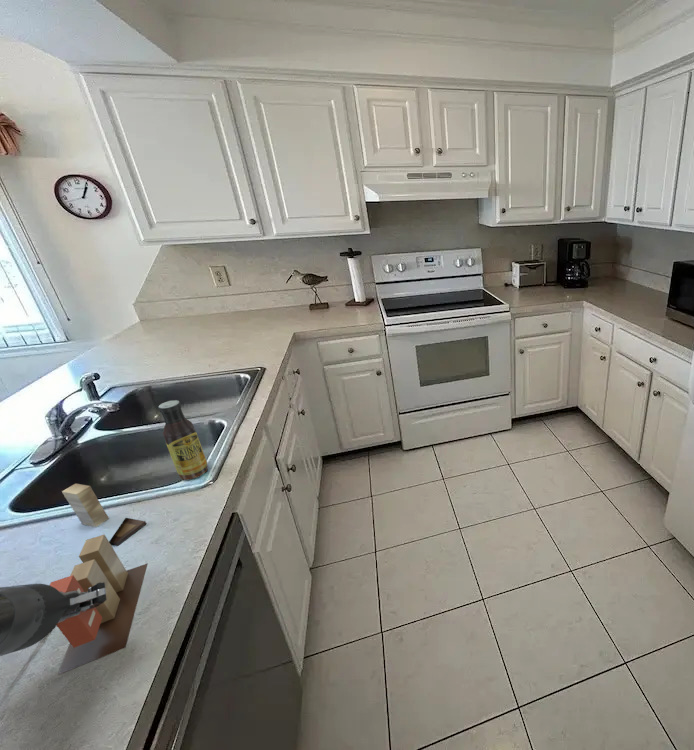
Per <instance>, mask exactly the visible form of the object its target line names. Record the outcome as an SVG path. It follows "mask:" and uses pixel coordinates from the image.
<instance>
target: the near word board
mask: <svg viewBox="0 0 694 750" xmlns="http://www.w3.org/2000/svg"><path fill="white" fill-rule="evenodd" d="M109 541H110V540H109V539H108V538H107V536H106V535H105V534H101V535H98V536H95V537H91V538H89V539H86V540H85V542H84V544H83V546H82V548H81V551H80V553H79V555H78V558H79V560H80V561H81V563H79V564H78V563H77V564H75V565H73V568H72V571H71V572H70V575H69V576H72V575H73V576H74V577H75V578H76V580H77V581H78V583H79V584H80V586H81V587H82V589H83V590H84V592H88V588H90V587H93V586H94V585H97V583H100V582H101V583H103V582H105V589H106V599H107V600H106V601H105V602H104V603H102V604H100V606H97V607H95V608H96V609H97V611H98V612H99V614H100V615H101V617H102V620H101V623H100V626H99V629H98V632H97V635H96V638H95V640H93V641H90V642H88V643H85V644H82V645H80V646H77V647H75V648H73V646H72V645H71V644H70V643H69V644H68V646H67V647H68V648H67V649H66V652H65V655H64V657H63V660H62V662H61V665H60V667H59V670H58V673H57V676H60V675H62V674H64V673H67V672H69V671H72V670H74V669H76V668H79V667H82V666H84V665H86V664H89V663H91V662H94V661H96V660H100V659H102V658H104V657H106V656H109V655H111V654H114V653H116V652H118V651H121V650H123V649H126V648H127V644H128V641H129V636H130V632H131V629H132V625H133V621H134V617H135V613H136V610H137V606H138V602H139V599H140V594H141V591H142V586H143V582H144V580H145V576H146V571H147V568H148V563H145V564H142V565H138V566H135V567H133V568H130V569H126V567H125V566H124V564H123V563H122V560H121V559H120V557H119V556H118V554H117V552H116V551H115V549H114V548H113V545H112V544H110V543H109Z"/></svg>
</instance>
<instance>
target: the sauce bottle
mask: <svg viewBox="0 0 694 750" xmlns="http://www.w3.org/2000/svg"><path fill="white" fill-rule="evenodd" d="M158 411H159V413H160V414H161V415H162V418H163V422H164V427H163V431H162V435H163V437H164V440H165V445H166V447H167V449H168V452H169V455H170V457H171V460H172V463H173V465H174V468H175V469H176V473H177V474H178V476H179V478H180V479H181V480H182V481H183V480H184V481H189V480H194V479H198V478H200V477H202V476H203V475H204V474H205V473H207V472H208V470H207V469H209V467H208V460H207V458H206V455H205V453H204V450H203V447H202V443H201V442H200V439H199V435H198V433H197V431H196V428H195V426H194V424H193V422H192V421H191V420H189V419H187V418H185V417H186V416H185V415H184V413H183V409H182V404H181V402H180V400H177V399H175V400H167V401H165V402H162V403H160V404H159V405H158Z"/></svg>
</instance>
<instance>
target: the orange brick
mask: <svg viewBox="0 0 694 750" xmlns="http://www.w3.org/2000/svg"><path fill="white" fill-rule="evenodd" d="M49 585H50V586H52V587H54V588H55V589H57V590H58V591H59V592H60V591H62V592H63V593H65V592H70V591H75V590H77V591H78V592H79V593H81V592H84V590H83V589H82V587H81V586H80V584H79V583H78V581H77V580H76V578H75V577H74V576H73V575H72V576H70V575H68V576H65V577H63V578H59V579H57V580H53V581H51V582H50V583H49ZM101 620H102V617H101V615H100V614H99V612H98V611H97V609H96V608H92V609H88V610H86V611H84V612H82V611H81V612H80V614H79V615H77V616H74V617H71V618H69V619H65V620H64V621H62V622H59V623H58V624H57V625H56V627H57V628H58V630H60V632H61V634H62V635H63V636H64V637H65V639H66V640H67V641H68V642H69V644H71V645H72V646H73V648H75V647H77V646H80V645H82V644H85V643H88V642H90V641H93V640H95V638H96V635H97V632H98V629H99V626H100V623H101Z"/></svg>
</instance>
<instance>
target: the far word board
mask: <svg viewBox="0 0 694 750" xmlns="http://www.w3.org/2000/svg"><path fill="white" fill-rule="evenodd" d="M61 493H62V495H63V496H64V498H65V499H66V501H67V502H68V504H69V506H70V507H71V510H73V513H74V514H75V515H76V517H77V519H78V520H79V521H80V524H81V525H84V526H88V527H92V528H93V527H94V528H98V527H99V526H100V525H102V524H103V523H105V522H107V521H108V520H110V517H109V516H108V514H107V512H106V511H105V509H104V508H103V506H102V504H101V502H100V501H99V499H98V497H97V495H96V494H95V492H94V490H93V488H92V486H91V485H87V484H80V483H74V484H72V485H70V486H69V487H67V488H65V489H64V490H61ZM146 525H147V522H146V521H145V520H141V519H135V518H130V517H125V518H124V519H123V520H122V522H121V524H120V525H119V527H117V529H116V531H115V532H114V534H113V535H112V537H111V538H110V540H108V541H109V543H110V544H111V546H117V547H118V546H120V545H121V544H122V543H124V542H126V540H128V539H129V538H130V537H132V536H133V535H134V534H136V532H138V531H139V530H141V529H142V528H143V527H145V526H146Z"/></svg>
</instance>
